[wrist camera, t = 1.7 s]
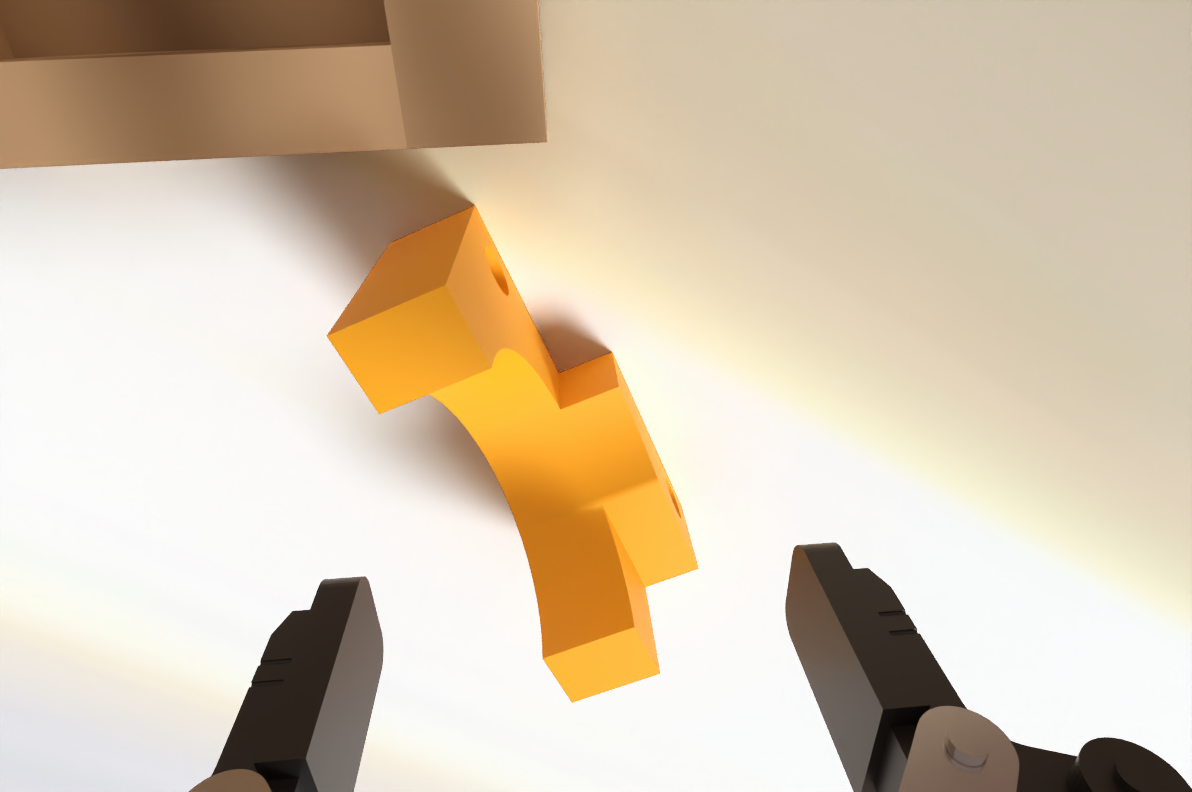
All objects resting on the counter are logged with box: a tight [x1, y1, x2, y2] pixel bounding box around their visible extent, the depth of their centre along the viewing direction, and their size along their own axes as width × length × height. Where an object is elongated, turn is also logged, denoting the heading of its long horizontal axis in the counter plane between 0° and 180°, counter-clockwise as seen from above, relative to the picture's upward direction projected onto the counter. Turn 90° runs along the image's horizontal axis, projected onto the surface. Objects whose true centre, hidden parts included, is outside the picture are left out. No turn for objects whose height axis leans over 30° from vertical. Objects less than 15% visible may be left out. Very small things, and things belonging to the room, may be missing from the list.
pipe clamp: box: [327, 206, 698, 702], centre depth 19 cm, size 12×4×6 cm, turn 22°
